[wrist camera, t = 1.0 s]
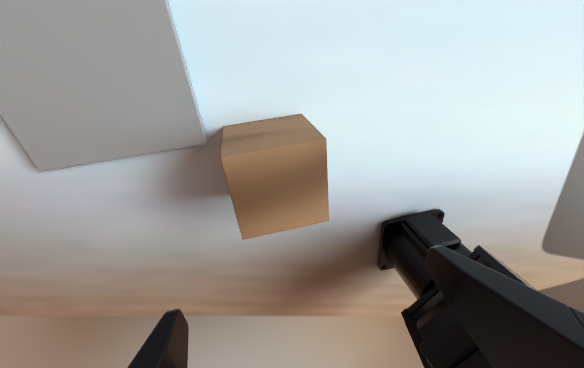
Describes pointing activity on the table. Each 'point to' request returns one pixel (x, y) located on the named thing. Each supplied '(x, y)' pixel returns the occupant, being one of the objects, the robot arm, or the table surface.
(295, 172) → the walnut cube
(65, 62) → the coaster
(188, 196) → the table surface
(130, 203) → the table surface
